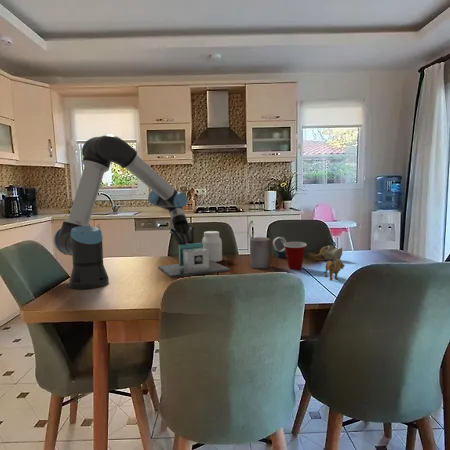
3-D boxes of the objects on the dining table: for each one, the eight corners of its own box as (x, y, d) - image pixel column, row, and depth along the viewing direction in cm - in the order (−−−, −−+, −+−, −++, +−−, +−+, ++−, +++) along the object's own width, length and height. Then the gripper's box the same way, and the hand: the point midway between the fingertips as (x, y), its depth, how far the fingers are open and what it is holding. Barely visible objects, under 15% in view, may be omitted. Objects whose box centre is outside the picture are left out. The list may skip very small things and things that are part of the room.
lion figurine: (346, 281, 147) (346, 259, 146) (333, 282, 146) (333, 260, 146) (329, 273, 162) (329, 253, 161) (318, 274, 161) (318, 254, 160)
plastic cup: (281, 270, 170) (281, 244, 168) (285, 265, 180) (285, 241, 178) (305, 271, 166) (305, 245, 165) (308, 266, 176) (308, 242, 175)
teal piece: (187, 270, 164) (186, 248, 163) (179, 265, 174) (178, 244, 173) (212, 267, 168) (211, 246, 167) (202, 262, 179) (202, 242, 178)
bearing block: (171, 277, 159) (170, 254, 158) (158, 267, 179) (157, 247, 178) (229, 270, 171) (229, 249, 170) (211, 262, 191) (210, 243, 190)
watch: (288, 257, 201) (289, 237, 199) (275, 258, 198) (275, 238, 197) (284, 255, 206) (284, 236, 205) (271, 256, 204) (271, 236, 203)
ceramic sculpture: (337, 245, 182) (310, 245, 192) (338, 263, 182) (311, 261, 192) (346, 243, 190) (319, 242, 200) (346, 260, 191) (320, 258, 200)
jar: (223, 261, 193) (222, 232, 191) (205, 262, 190) (204, 233, 189) (218, 257, 204) (217, 230, 202) (201, 258, 202) (200, 231, 200)
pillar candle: (258, 263, 185) (258, 234, 184) (274, 266, 178) (274, 235, 177) (245, 266, 179) (245, 236, 177) (261, 269, 172) (261, 238, 170)
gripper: (189, 222, 196) (201, 258, 183) (165, 224, 191) (175, 261, 178) (192, 213, 191) (204, 249, 178) (167, 214, 186) (179, 252, 172)
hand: (190, 255), depth 178 cm, fingers closed
